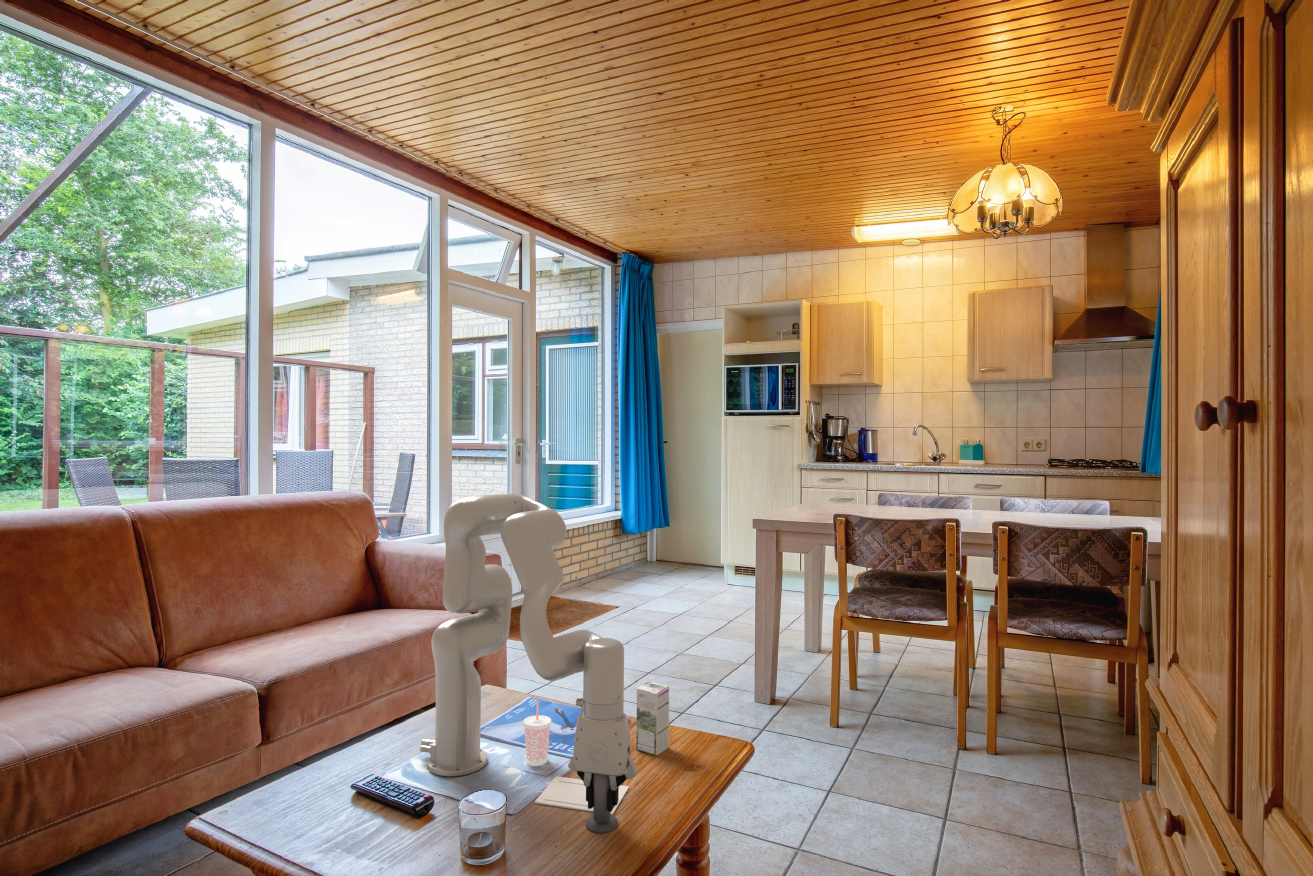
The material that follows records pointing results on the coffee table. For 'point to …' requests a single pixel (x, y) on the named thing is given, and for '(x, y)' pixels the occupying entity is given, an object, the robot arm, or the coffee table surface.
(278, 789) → the coffee table surface
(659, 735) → the syrup box
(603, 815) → the marker
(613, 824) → the coaster
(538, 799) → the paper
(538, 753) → the beverage cup
